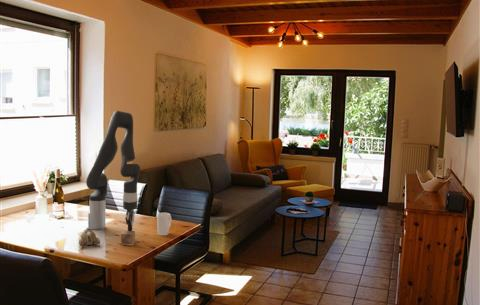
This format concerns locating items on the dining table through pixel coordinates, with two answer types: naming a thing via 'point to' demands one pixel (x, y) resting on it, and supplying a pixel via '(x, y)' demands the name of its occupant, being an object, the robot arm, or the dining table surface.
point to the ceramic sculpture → (88, 238)
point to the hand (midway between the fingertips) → (130, 230)
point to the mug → (163, 223)
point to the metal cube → (127, 237)
